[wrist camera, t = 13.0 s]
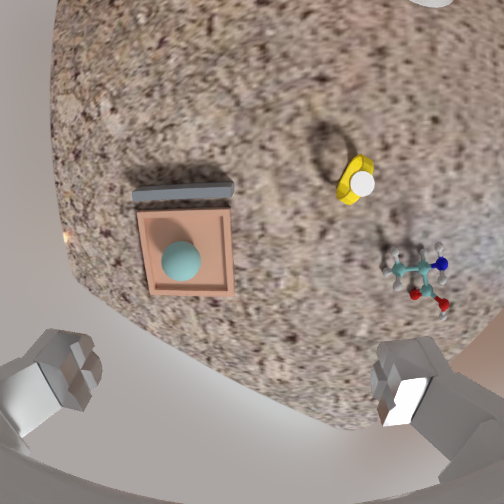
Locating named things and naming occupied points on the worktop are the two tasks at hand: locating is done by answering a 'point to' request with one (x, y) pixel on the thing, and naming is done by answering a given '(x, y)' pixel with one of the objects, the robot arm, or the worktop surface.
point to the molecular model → (422, 269)
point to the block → (184, 191)
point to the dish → (198, 234)
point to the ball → (181, 261)
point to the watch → (356, 180)
